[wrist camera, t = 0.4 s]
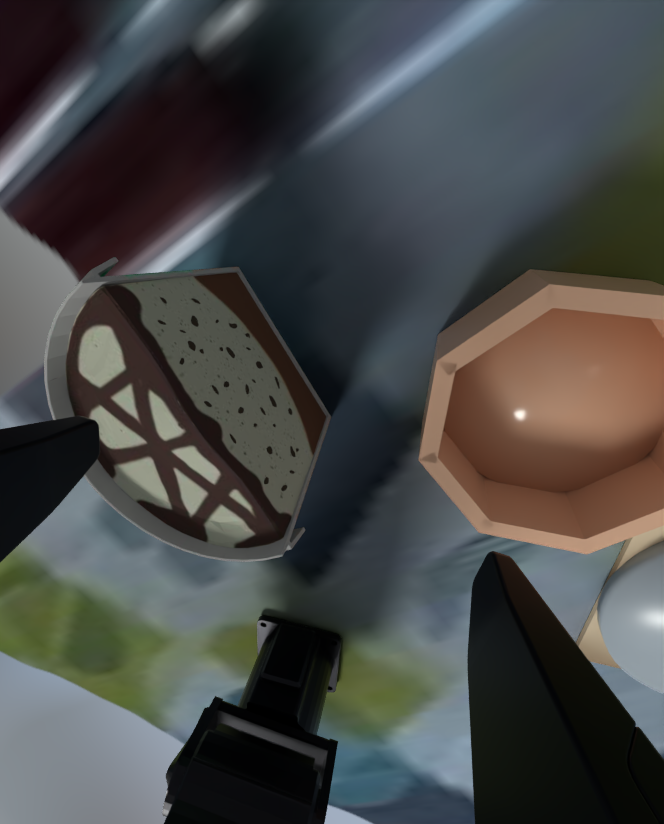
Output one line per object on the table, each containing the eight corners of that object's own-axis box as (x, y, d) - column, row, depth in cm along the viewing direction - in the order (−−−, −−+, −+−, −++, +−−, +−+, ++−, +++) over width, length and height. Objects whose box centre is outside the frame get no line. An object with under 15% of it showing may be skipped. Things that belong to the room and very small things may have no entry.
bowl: (634, 514, 23) (668, 570, 19) (412, 473, 25) (407, 518, 21) (742, 289, 18) (817, 311, 14) (450, 261, 20) (452, 274, 16)
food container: (140, 299, 24) (-34, 355, 15) (221, 239, 22) (69, 264, 13) (262, 472, 27) (176, 601, 19) (344, 438, 25) (290, 567, 16)
